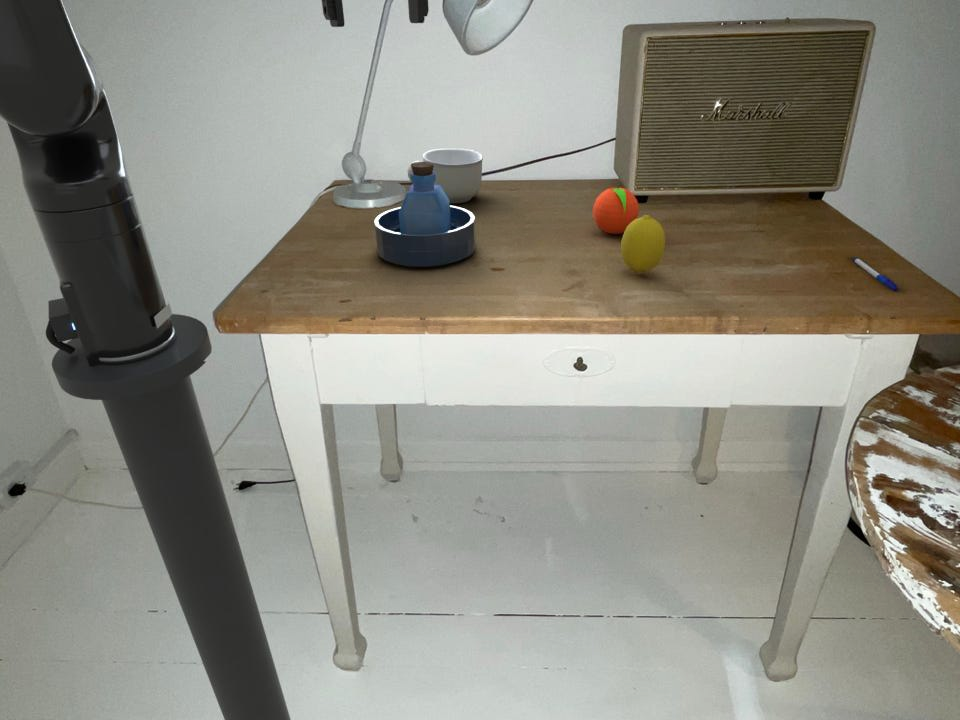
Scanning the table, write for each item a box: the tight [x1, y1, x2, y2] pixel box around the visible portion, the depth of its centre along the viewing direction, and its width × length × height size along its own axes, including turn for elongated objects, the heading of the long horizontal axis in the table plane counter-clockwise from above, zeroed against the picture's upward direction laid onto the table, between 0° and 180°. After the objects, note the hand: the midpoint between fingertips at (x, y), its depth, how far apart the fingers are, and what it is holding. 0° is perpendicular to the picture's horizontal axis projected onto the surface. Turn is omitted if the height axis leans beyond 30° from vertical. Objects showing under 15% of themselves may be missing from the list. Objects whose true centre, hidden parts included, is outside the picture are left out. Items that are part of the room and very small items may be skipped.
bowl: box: [373, 205, 477, 268], centre depth 91 cm, size 14×14×5 cm
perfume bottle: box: [399, 161, 451, 234], centre depth 89 cm, size 6×6×12 cm
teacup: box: [407, 147, 484, 204], centre depth 113 cm, size 14×11×8 cm
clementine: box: [592, 186, 640, 235], centre depth 96 cm, size 8×7×7 cm
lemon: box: [620, 214, 666, 275], centre depth 82 cm, size 6×6×8 cm
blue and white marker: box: [852, 256, 899, 292], centre depth 82 cm, size 10×1×1 cm, turn 0°
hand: (378, 24), depth 63 cm, fingers open, 8 cm apart
